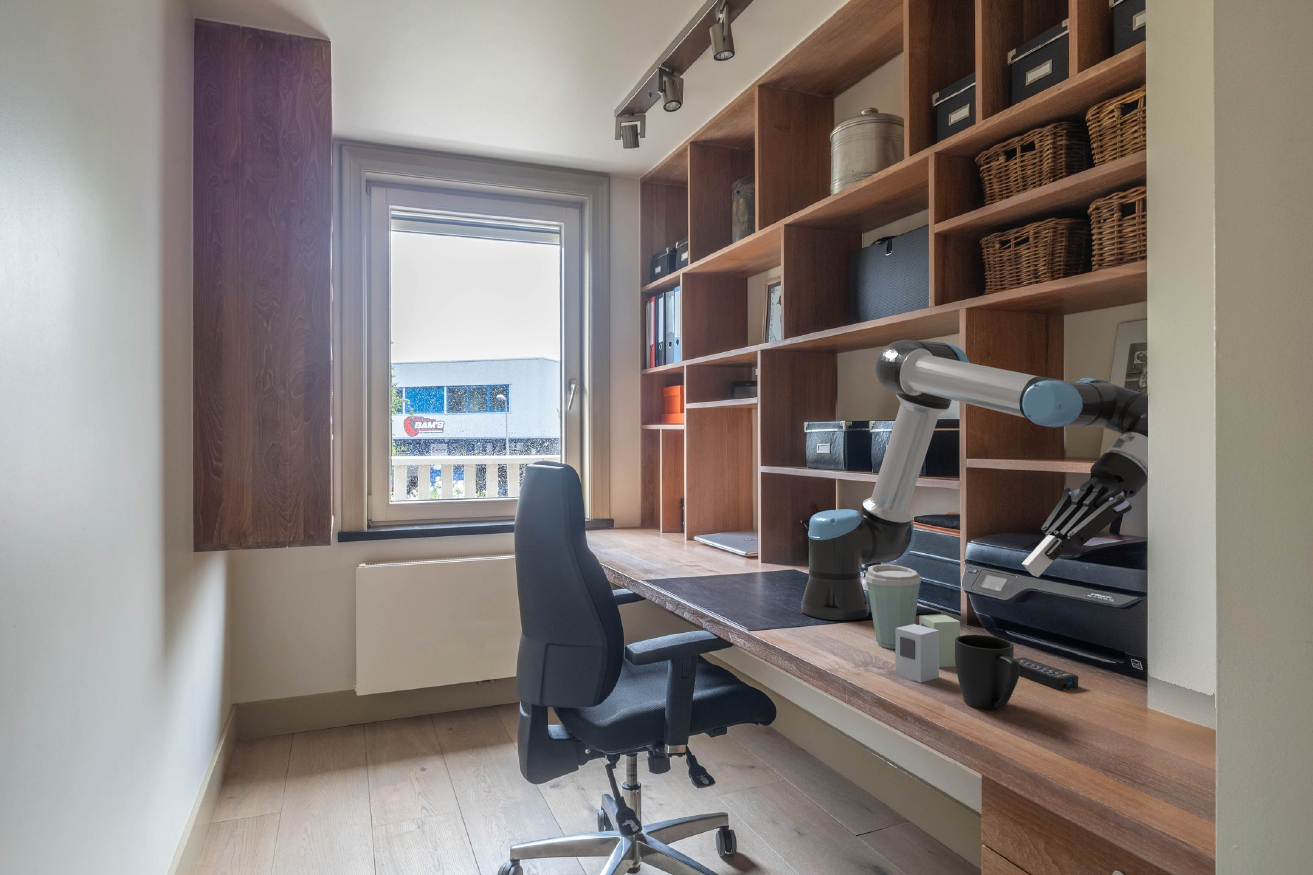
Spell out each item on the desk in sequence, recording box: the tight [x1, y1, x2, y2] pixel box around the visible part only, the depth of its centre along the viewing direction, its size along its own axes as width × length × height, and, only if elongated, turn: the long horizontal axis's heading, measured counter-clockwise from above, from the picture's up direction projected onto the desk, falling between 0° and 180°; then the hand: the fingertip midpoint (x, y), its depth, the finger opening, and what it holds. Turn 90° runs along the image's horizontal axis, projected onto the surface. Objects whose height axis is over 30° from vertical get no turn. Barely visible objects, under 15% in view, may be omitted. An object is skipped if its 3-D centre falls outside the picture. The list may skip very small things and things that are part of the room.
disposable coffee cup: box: [864, 563, 922, 650], centre depth 143 cm, size 11×11×15 cm
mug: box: [955, 634, 1020, 711], centre depth 110 cm, size 8×12×10 cm
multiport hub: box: [1014, 656, 1079, 692], centre depth 123 cm, size 4×11×2 cm, turn 21°
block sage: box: [918, 614, 961, 668], centre depth 132 cm, size 5×5×8 cm
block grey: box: [895, 623, 940, 684], centre depth 125 cm, size 5×5×8 cm
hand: (1030, 570), depth 117 cm, fingers closed
